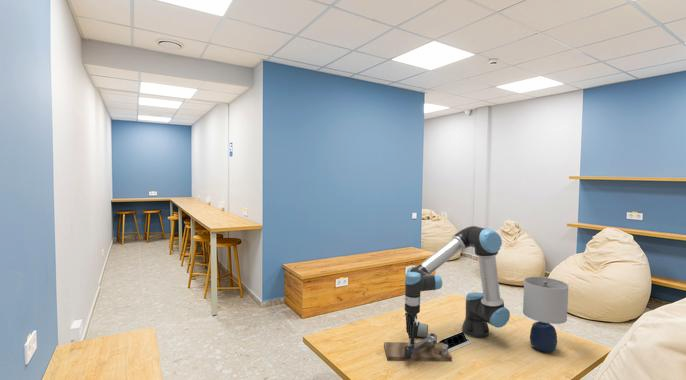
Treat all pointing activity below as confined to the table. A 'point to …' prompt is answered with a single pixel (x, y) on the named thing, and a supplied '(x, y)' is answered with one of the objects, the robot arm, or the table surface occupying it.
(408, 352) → the lever
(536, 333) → the lamp
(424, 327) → the ceramic mug
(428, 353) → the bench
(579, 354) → the table surface
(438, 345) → the tan wooden cylinder
